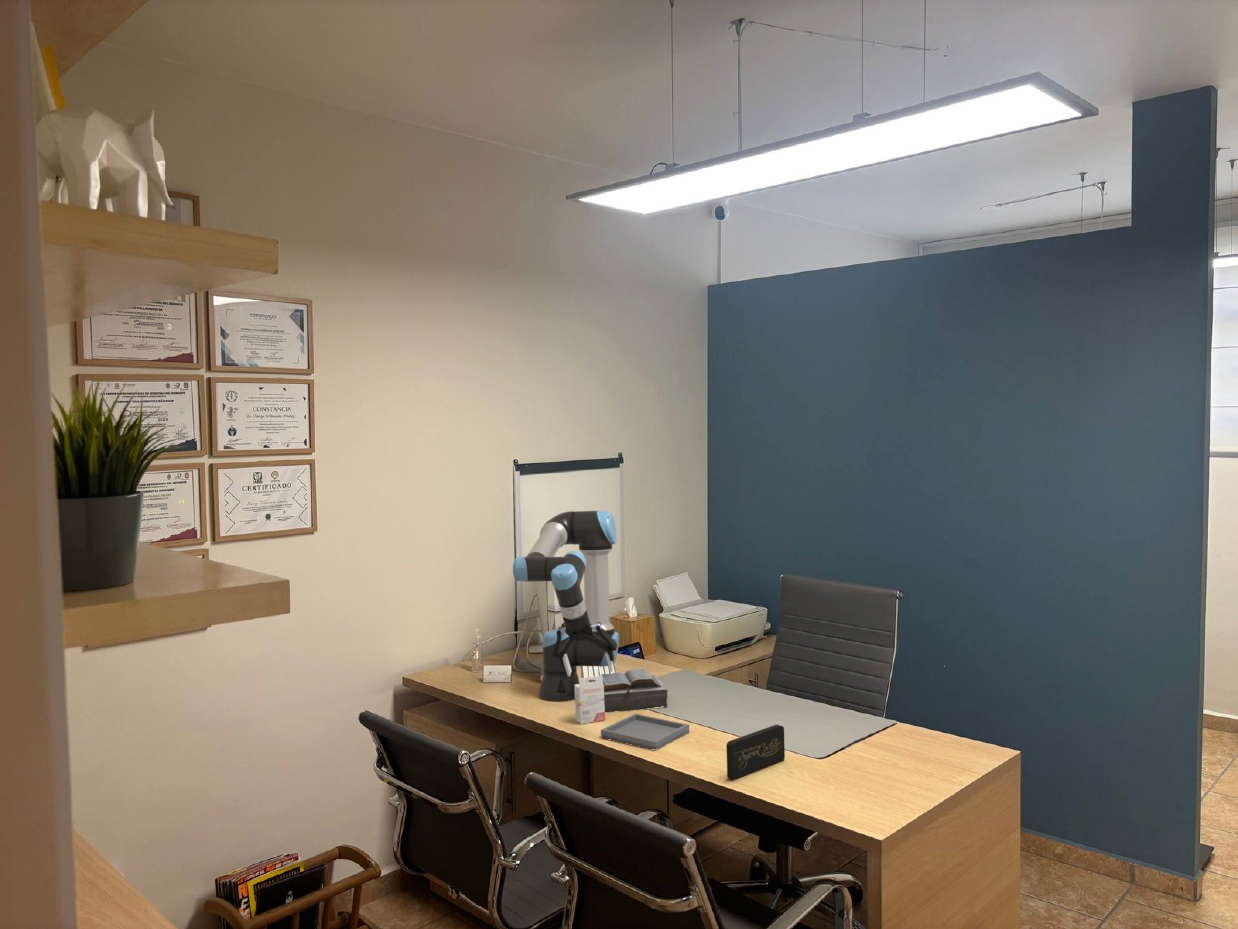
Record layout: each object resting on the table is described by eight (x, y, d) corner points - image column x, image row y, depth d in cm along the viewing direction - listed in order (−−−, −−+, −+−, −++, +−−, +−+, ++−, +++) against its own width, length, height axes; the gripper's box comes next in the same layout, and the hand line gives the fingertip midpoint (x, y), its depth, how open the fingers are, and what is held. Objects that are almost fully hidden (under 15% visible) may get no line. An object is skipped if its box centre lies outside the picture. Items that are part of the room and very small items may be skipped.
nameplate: (732, 781, 233) (731, 744, 232) (727, 779, 234) (726, 742, 234) (784, 761, 246) (784, 725, 246) (779, 759, 247) (778, 723, 247)
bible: (668, 713, 291) (667, 683, 290) (585, 714, 292) (585, 685, 291) (666, 692, 314) (666, 664, 314) (590, 693, 315) (589, 666, 315)
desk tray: (635, 721, 283) (635, 713, 283) (689, 732, 271) (688, 724, 271) (601, 738, 268) (600, 729, 268) (655, 750, 256) (655, 742, 256)
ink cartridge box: (599, 716, 289) (598, 671, 288) (605, 721, 284) (604, 675, 284) (575, 720, 286) (573, 675, 285) (580, 725, 281) (578, 678, 280)
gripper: (532, 625, 267) (549, 683, 274) (612, 615, 261) (628, 674, 269) (537, 611, 273) (554, 668, 281) (616, 601, 268) (631, 659, 276)
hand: (590, 671), depth 275 cm, fingers open, 13 cm apart
